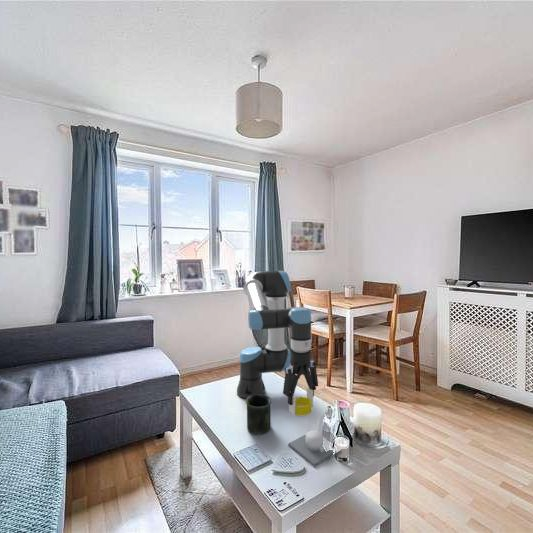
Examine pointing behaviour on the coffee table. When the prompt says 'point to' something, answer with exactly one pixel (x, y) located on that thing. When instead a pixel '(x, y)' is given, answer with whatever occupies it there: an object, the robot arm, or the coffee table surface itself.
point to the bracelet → (303, 406)
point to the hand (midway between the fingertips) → (301, 408)
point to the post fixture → (311, 447)
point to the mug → (258, 413)
